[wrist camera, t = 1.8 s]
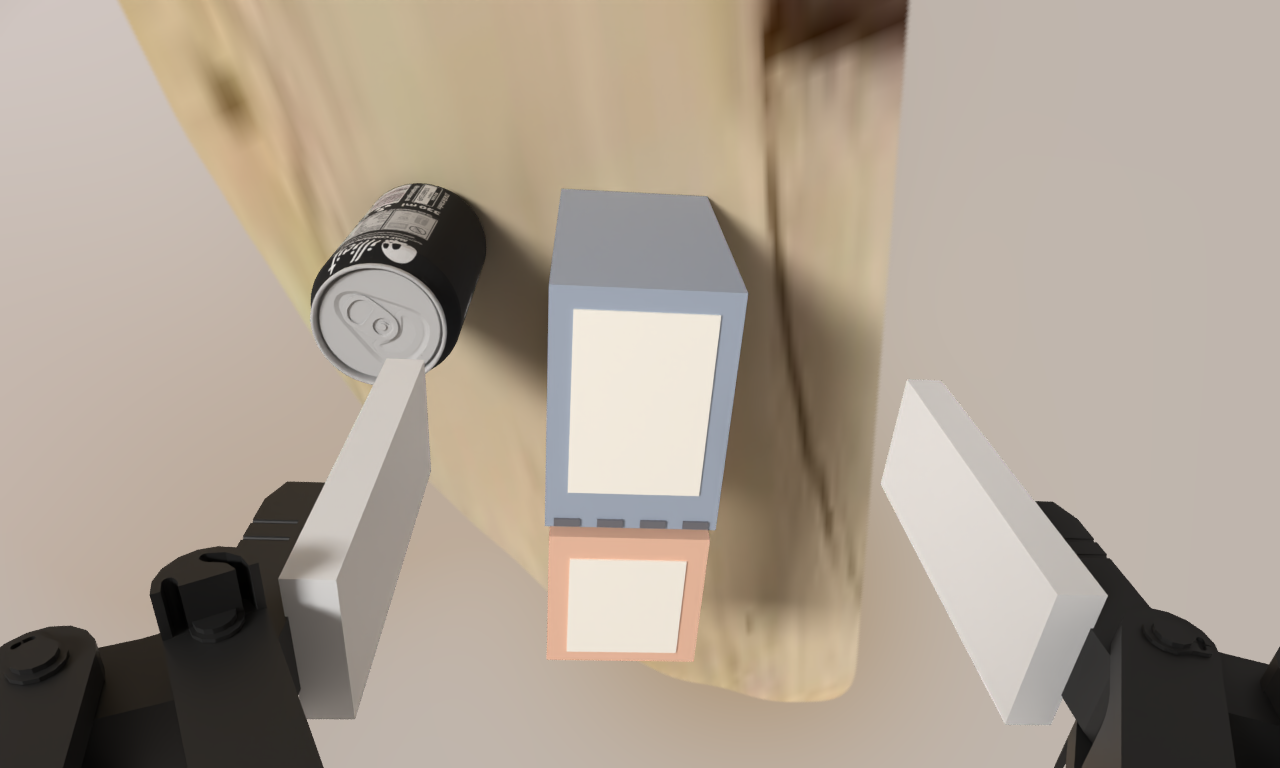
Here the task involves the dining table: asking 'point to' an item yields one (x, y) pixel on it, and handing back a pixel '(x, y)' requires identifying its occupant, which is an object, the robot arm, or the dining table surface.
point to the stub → (625, 593)
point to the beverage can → (399, 282)
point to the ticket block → (640, 361)
